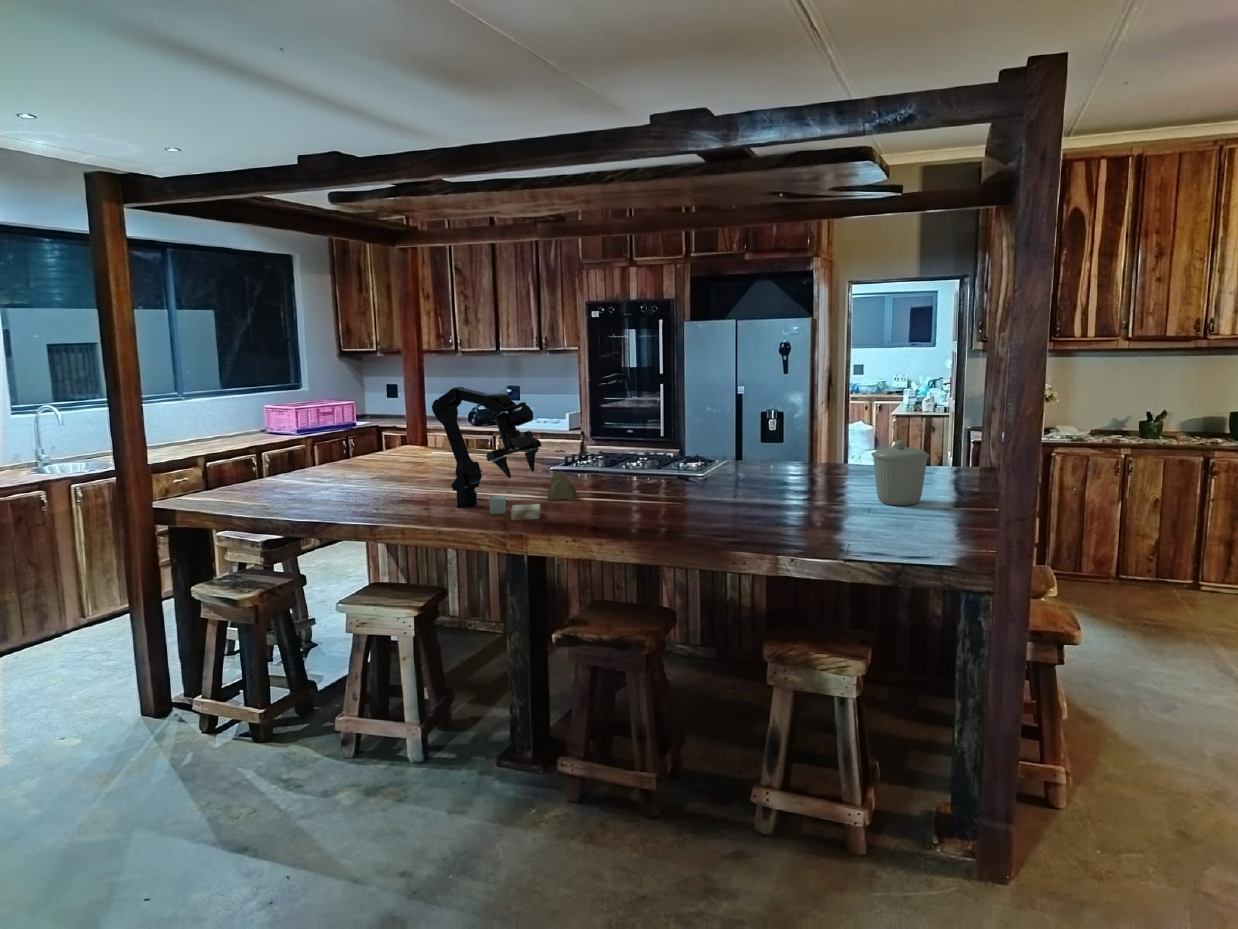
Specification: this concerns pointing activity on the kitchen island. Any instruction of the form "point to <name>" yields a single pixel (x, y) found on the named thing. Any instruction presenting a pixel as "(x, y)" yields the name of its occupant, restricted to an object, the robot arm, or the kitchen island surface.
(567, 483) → the rock
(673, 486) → the kitchen island surface
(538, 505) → the plinth
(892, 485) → the canister
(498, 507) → the block
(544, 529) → the kitchen island surface
